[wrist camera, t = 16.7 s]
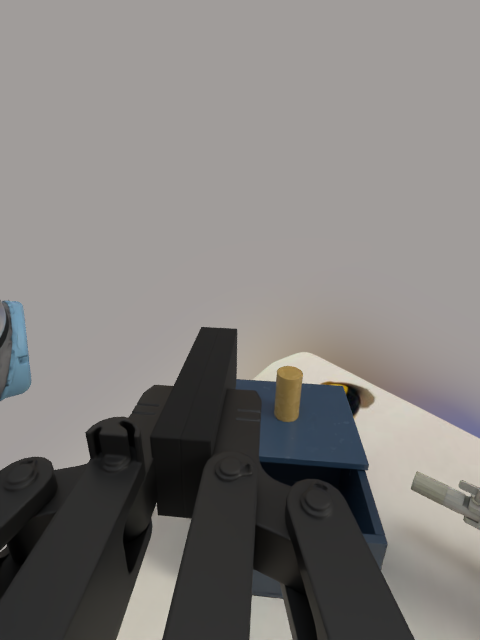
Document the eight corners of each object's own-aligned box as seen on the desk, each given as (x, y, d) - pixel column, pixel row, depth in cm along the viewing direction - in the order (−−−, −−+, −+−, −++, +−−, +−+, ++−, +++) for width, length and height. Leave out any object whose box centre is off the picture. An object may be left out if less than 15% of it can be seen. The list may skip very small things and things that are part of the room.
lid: (211, 457, 37) (210, 405, 34) (227, 383, 50) (227, 341, 47) (367, 470, 36) (379, 417, 33) (342, 390, 49) (348, 348, 46)
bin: (201, 589, 33) (198, 526, 30) (221, 474, 46) (221, 420, 43) (370, 608, 32) (388, 544, 29) (342, 484, 45) (352, 430, 42)
